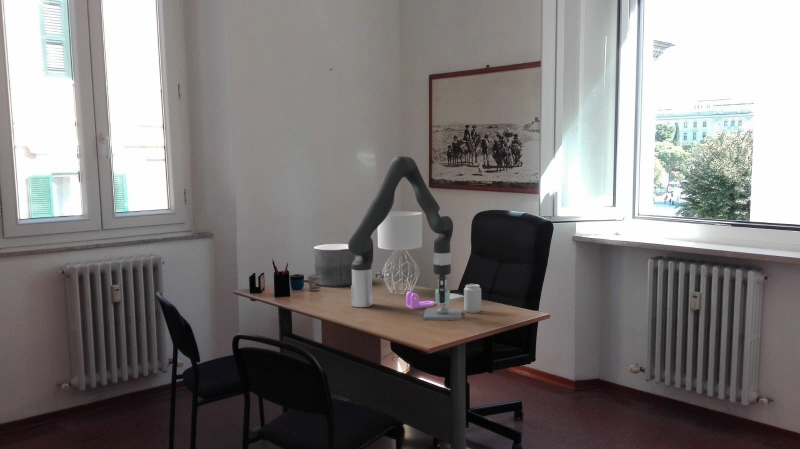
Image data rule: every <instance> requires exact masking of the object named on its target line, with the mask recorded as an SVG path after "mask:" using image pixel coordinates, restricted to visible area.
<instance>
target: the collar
mask: <svg viewBox="0 0 800 449" xmlns="http://www.w3.org/2000/svg"><path fill="white" fill-rule="evenodd" d="M440 291H444V289H441V290H440ZM450 292H451V290H450V289H446V290H445V303H440V294H439V289H438V288H437V289H435V292H434V298H435V301H434V305H440V304H445V305H450V303H451V298H450V296H451V295H450V294H451V293H450Z"/></svg>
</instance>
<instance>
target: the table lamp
mask: <svg viewBox="0 0 800 449" xmlns="http://www.w3.org/2000/svg"><path fill="white" fill-rule="evenodd" d="M377 247H378V248H379V249H383V250H389V251H390V250H391V251H393V252H392V253H391V255H390V256H389V257H388V258H387V261H386V262H385V263H384V265H383V268H382V271H381V276H382V278H383V281H384V282H385V285H386V287H387V288H388V292H389V293H391V294H394V295H395V294H396V295H397V290H396V289H398V291H400V290H402V289H403V286H404V285H405V284H406V285H405V288H404V289H403V290H402V292H400V295H405V294H407V292H406V293H405V291H406V289H407V291H411V292H413V291H414V288H415V286H416V284H417V281H418V279H419V277H420V274H421V273H420V271H419V270H420V269H419V266H418V264H417V262H416V261H415V260H414V258H413V257H412V256H411V255H410V253H409V252H408V250H416V249H417V250H418V249H420V248H422V247H423V213H422V212H419V211H398V210H397V211H390V212H389V214H388V215H387V217H386V218H385V220H384V221H383V222H382V223H381V224H380V225H379V226H378V227H377ZM399 251H403V253H404V257H405V260H406V261H405V262H404V263H402V262H403V261H402V259H403V258H402V257H400V258H399V260H398V261H399V264H396V260H397V257H398V254H399ZM405 252H406V253H405ZM406 254H407V255H408V258H410V260H411V262H412V263H413V264H412V263H410V262H409V261H408V258H407V256H406ZM406 263H407V268H405V270H402V271H401V267H403V265H404V264H406ZM390 264H391V265H390ZM395 265H396V266H398V267H399V269H398V268H397V267H396V266H395ZM389 266H390V268H389V269H388V267H389ZM392 268H393V269H392ZM394 268H395V269H396V270H397V271H398V272H397V273H396V274H395V275H394V272H392V271H394ZM407 269H408V270H409V271H408V273H407V276H406V275H405V274H404V272H405V271H406V270H407ZM411 269H413V270H415V272H414V273H413V274H410V272H412V270H411ZM389 270H390V275H391V276H389V275H388V274H387V273H386V272H388V271H389ZM398 274H399V275H402V276H404V277H405V278H406V279H404V278H403V277H400V278H399V280H397V281H395V280H394V278H395V277H396V276H398ZM409 274H410V276H409ZM383 275H384V276H383ZM413 275H414V277H413ZM408 276H409V277H408ZM412 277H413V279H412ZM389 278H390V279H391V280H390V279H389ZM409 278H410V280H409ZM402 280H404V283H402V286H400V285H398V284H397V283H399V281H402ZM389 282H390V283H391V284H392V285H391V286H390V284H389ZM413 283H414V284H413ZM394 291H395V292H394Z"/></svg>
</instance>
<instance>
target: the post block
mask: <svg viewBox="0 0 800 449" xmlns="http://www.w3.org/2000/svg"><path fill="white" fill-rule="evenodd" d="M422 316H423V317H422V320H426V321H427V320H428V321H430V320H433V321H434V320H435V321H436V320H437V321H462V309H461V308H460V309H459V308H447V307H446V304H439V307H437V308H425V309H424V312H423V315H422Z"/></svg>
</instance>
